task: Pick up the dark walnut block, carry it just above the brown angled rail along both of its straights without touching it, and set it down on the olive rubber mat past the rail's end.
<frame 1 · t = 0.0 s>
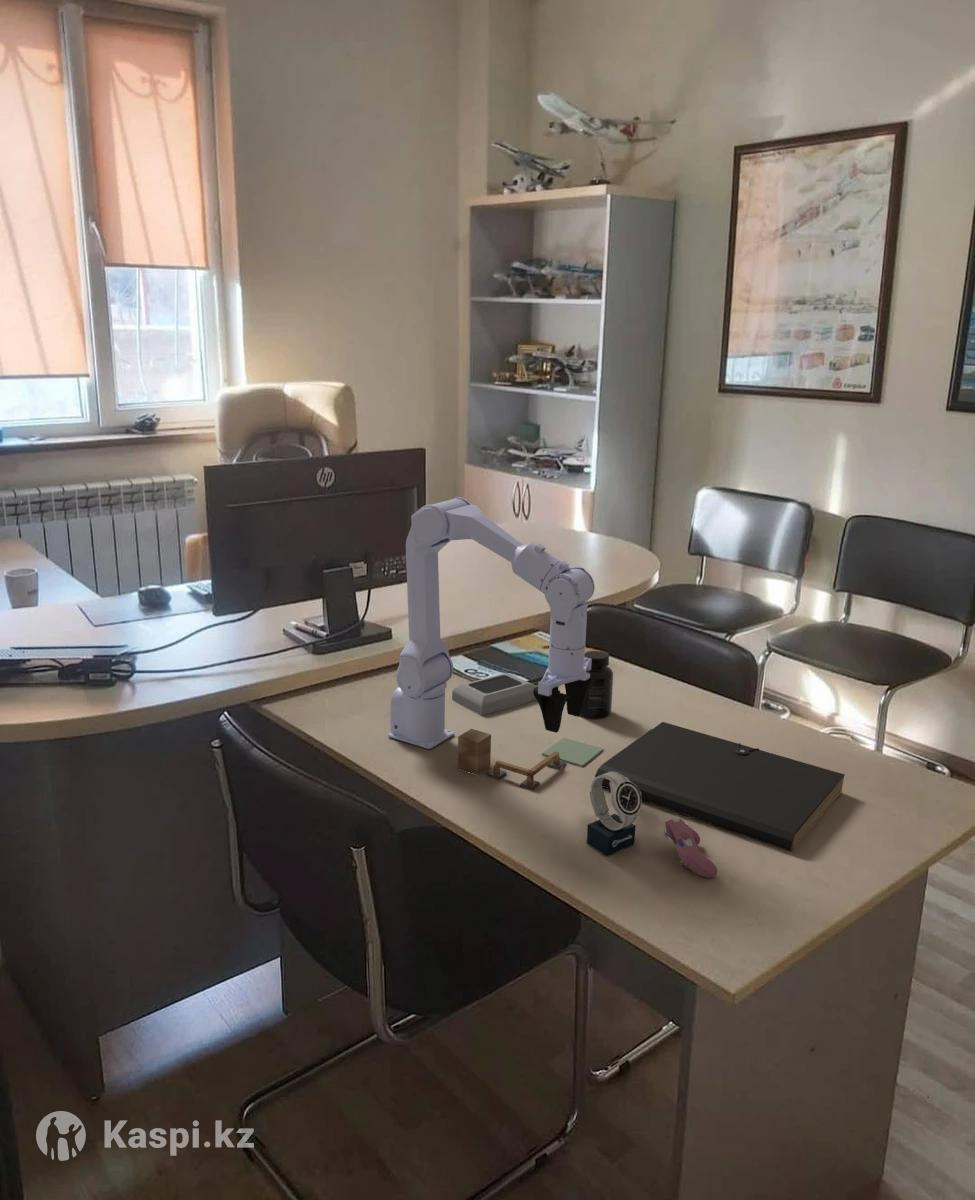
hand: (563, 722, 160), 10 cm above the table, tool pointing down, fingers open, 7 cm apart
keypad: (496, 701, 196), on the table
supplement bottle: (593, 713, 190), on the table
video game controller: (687, 863, 140), on the table
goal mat: (572, 752, 173), on the table
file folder: (718, 792, 161), on the table
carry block: (473, 767, 166), on the table
watch: (611, 845, 144), on the table
brown angled rail: (530, 785, 161), on the table
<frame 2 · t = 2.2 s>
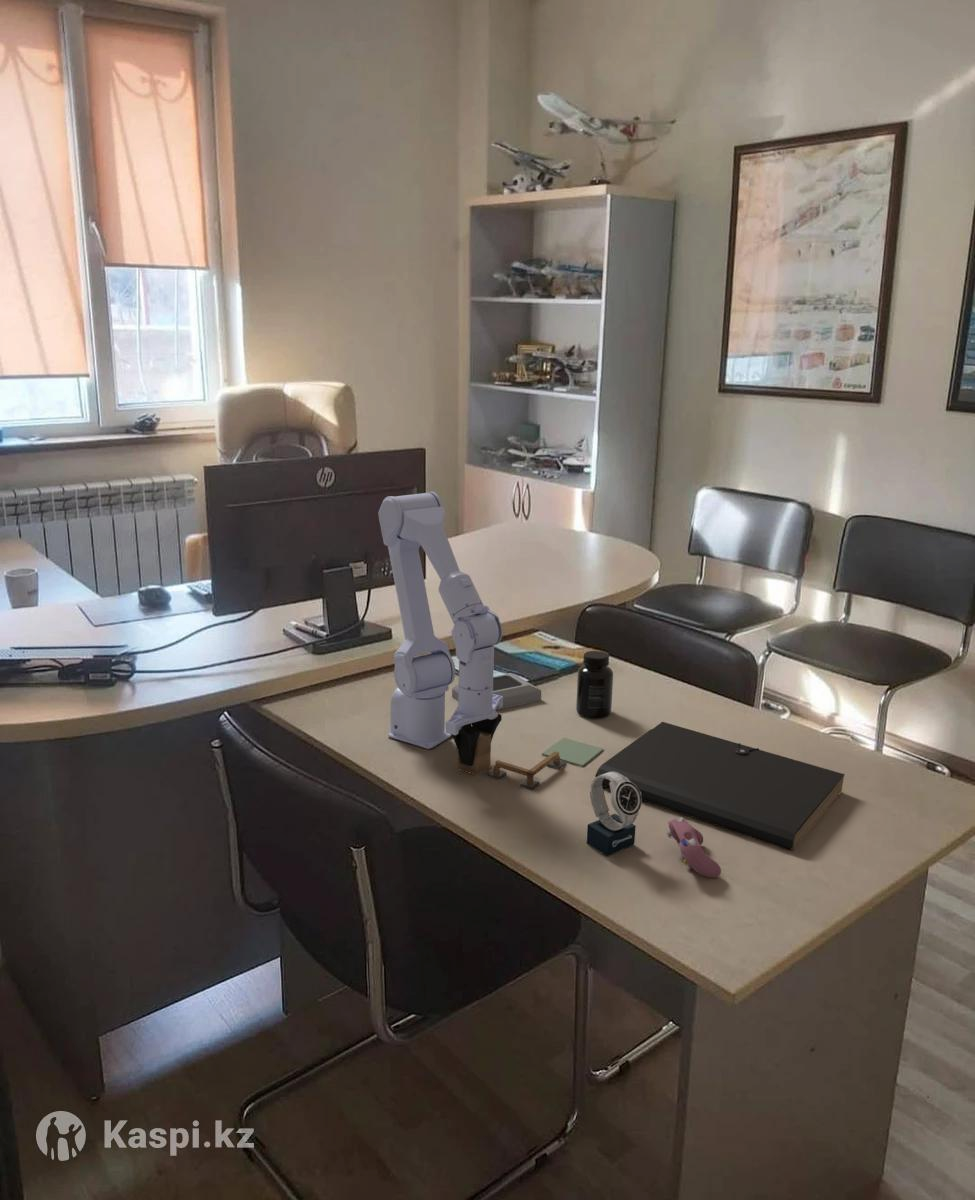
hand: (474, 759, 166), 2 cm above the table, tool pointing down, fingers closed on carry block, 4 cm apart
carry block: (473, 767, 166), on the table, touching gripper
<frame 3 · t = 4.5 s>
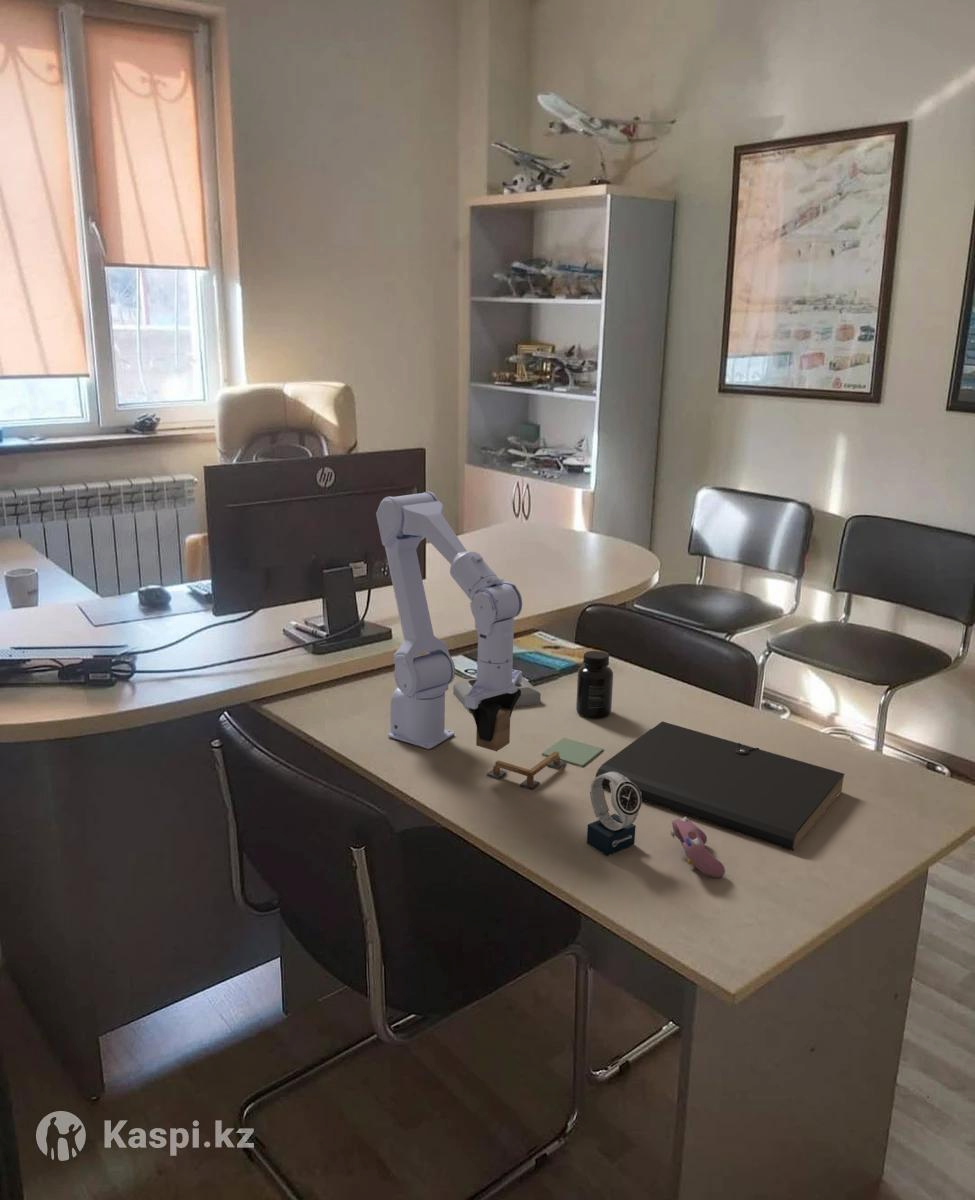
hand: (493, 734, 162), 7 cm above the table, tool pointing down, fingers closed on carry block, 4 cm apart
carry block: (492, 744, 163), point 5 cm above the table, touching gripper
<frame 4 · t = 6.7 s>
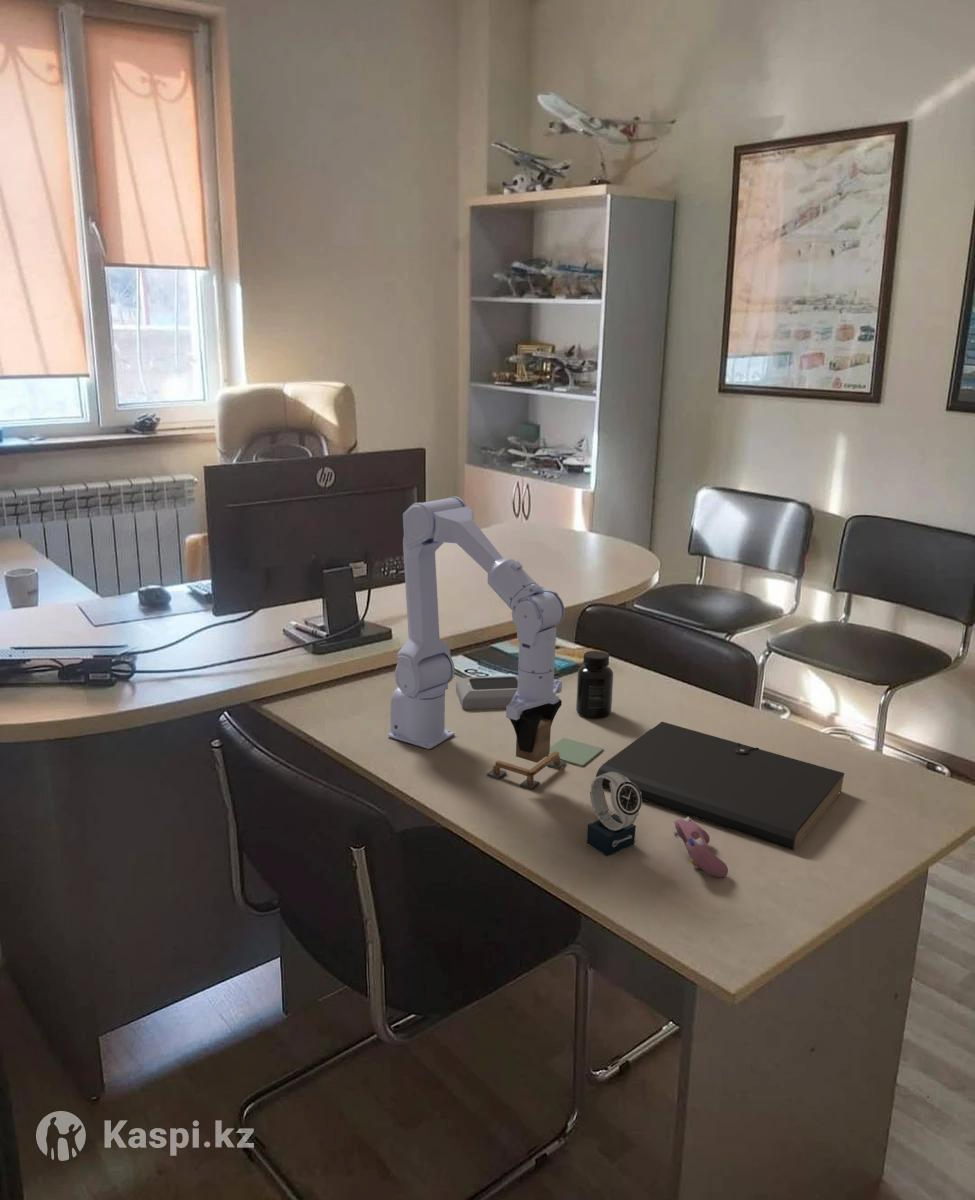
hand: (533, 745, 159), 7 cm above the table, tool pointing down, fingers closed on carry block, 4 cm apart
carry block: (532, 755, 159), point 5 cm above the table, touching gripper
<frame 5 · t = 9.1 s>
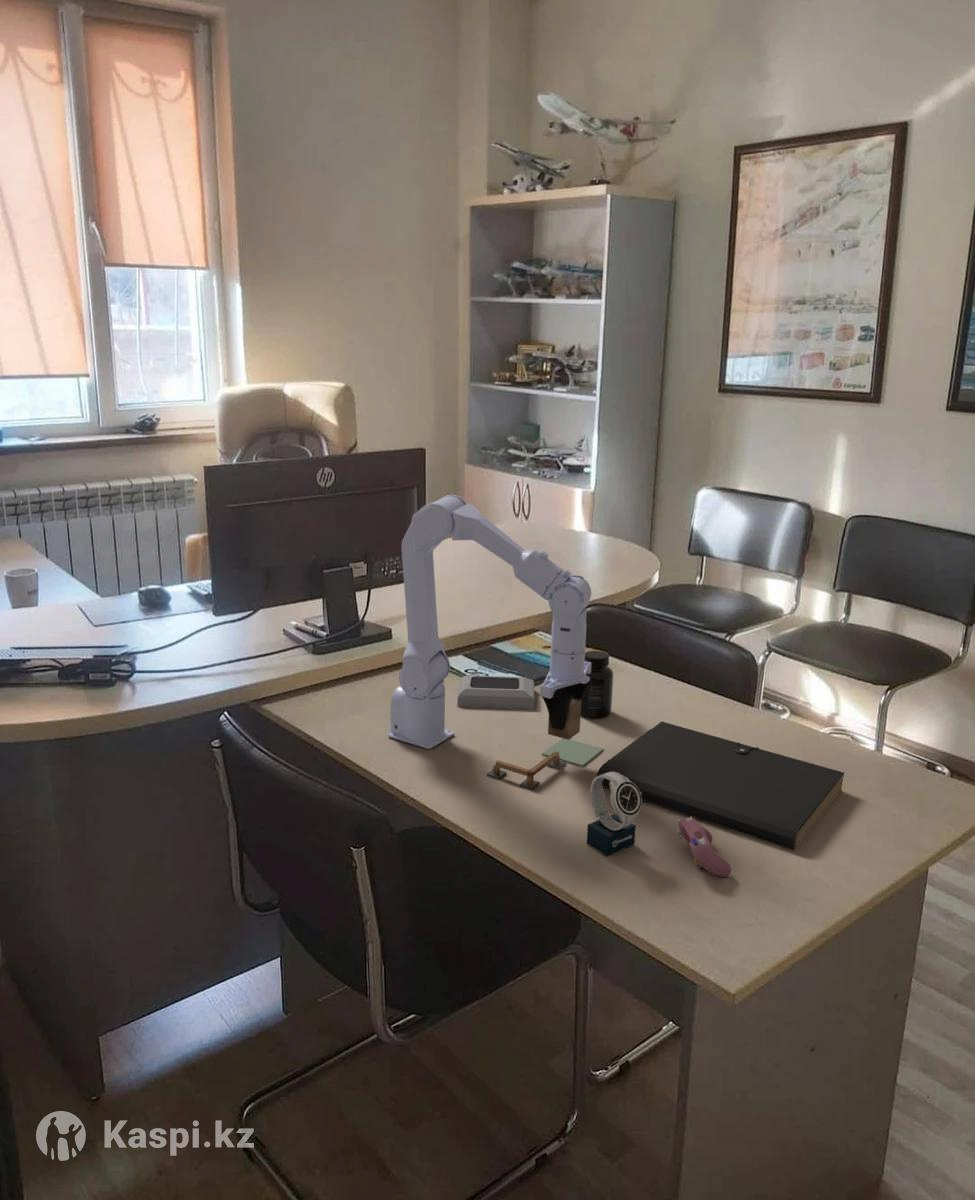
hand: (564, 723, 168), 7 cm above the table, tool pointing down, fingers closed on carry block, 4 cm apart
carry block: (563, 732, 168), point 5 cm above the table, touching gripper
when the fingers open (3 cm above the table, at t = 11.1 s): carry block stays where it is, resting on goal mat.
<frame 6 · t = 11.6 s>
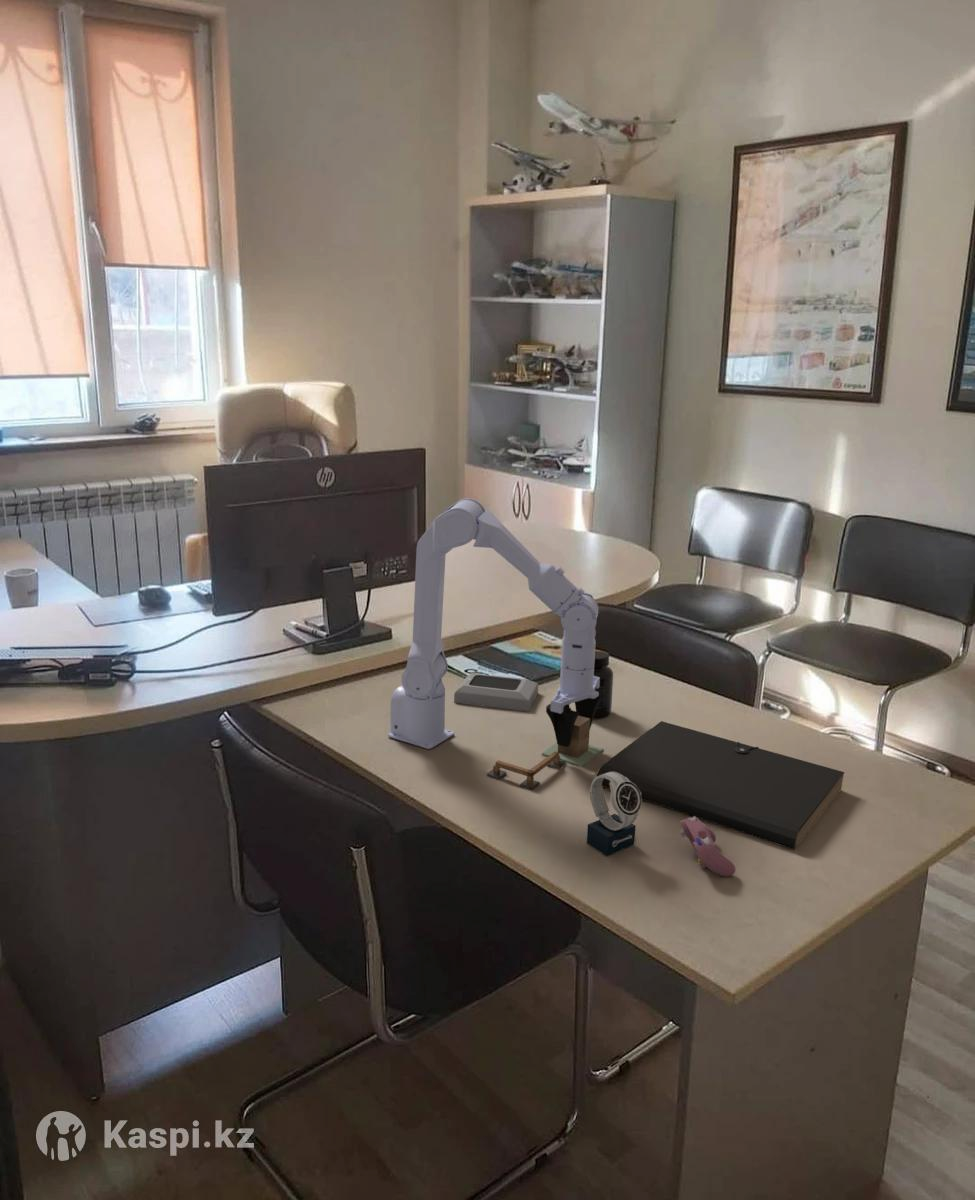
hand: (573, 737, 172), 3 cm above the table, tool pointing down, fingers open, 7 cm apart
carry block: (573, 751, 173), resting on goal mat
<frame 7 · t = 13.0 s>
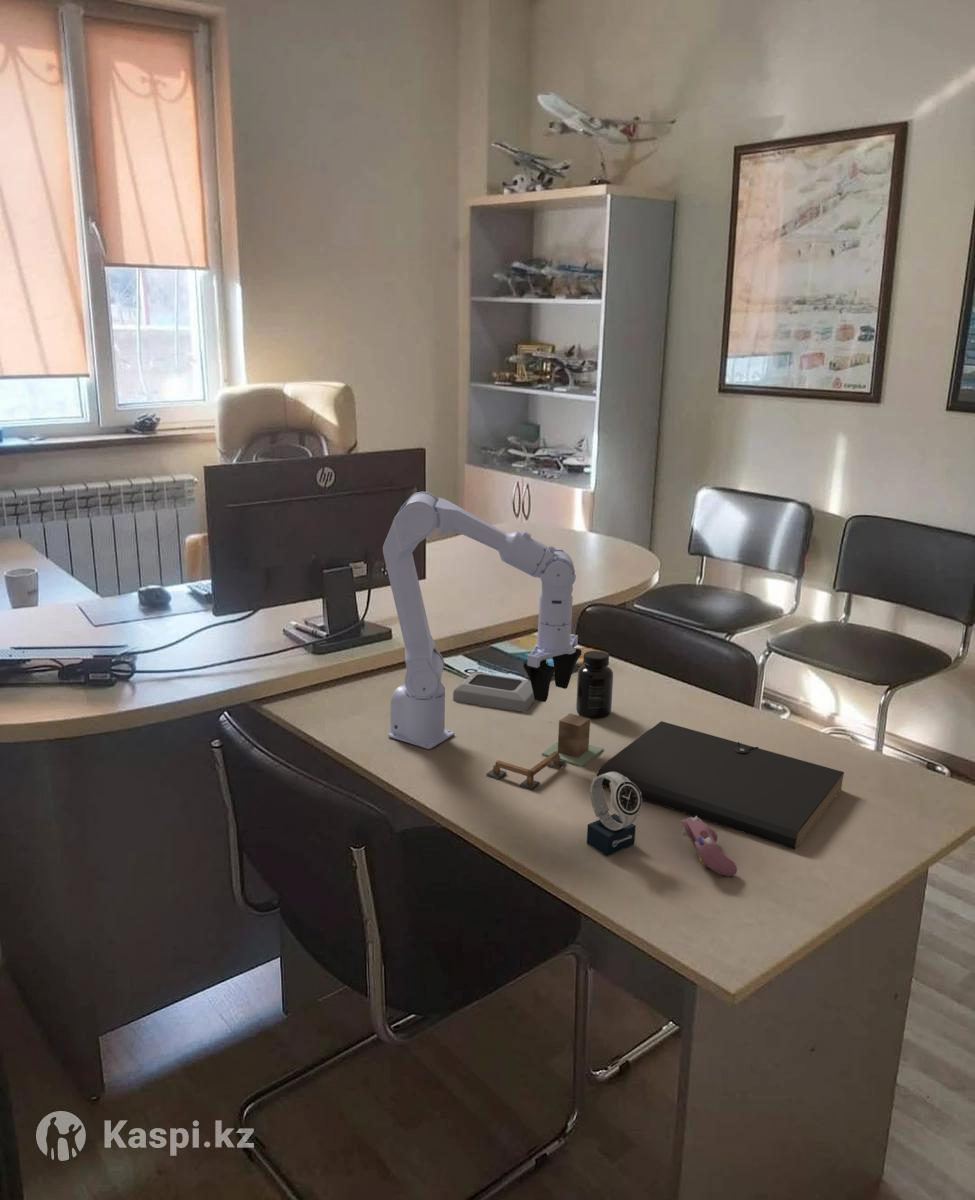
hand: (551, 693, 174), 9 cm above the table, tool pointing down, fingers open, 7 cm apart
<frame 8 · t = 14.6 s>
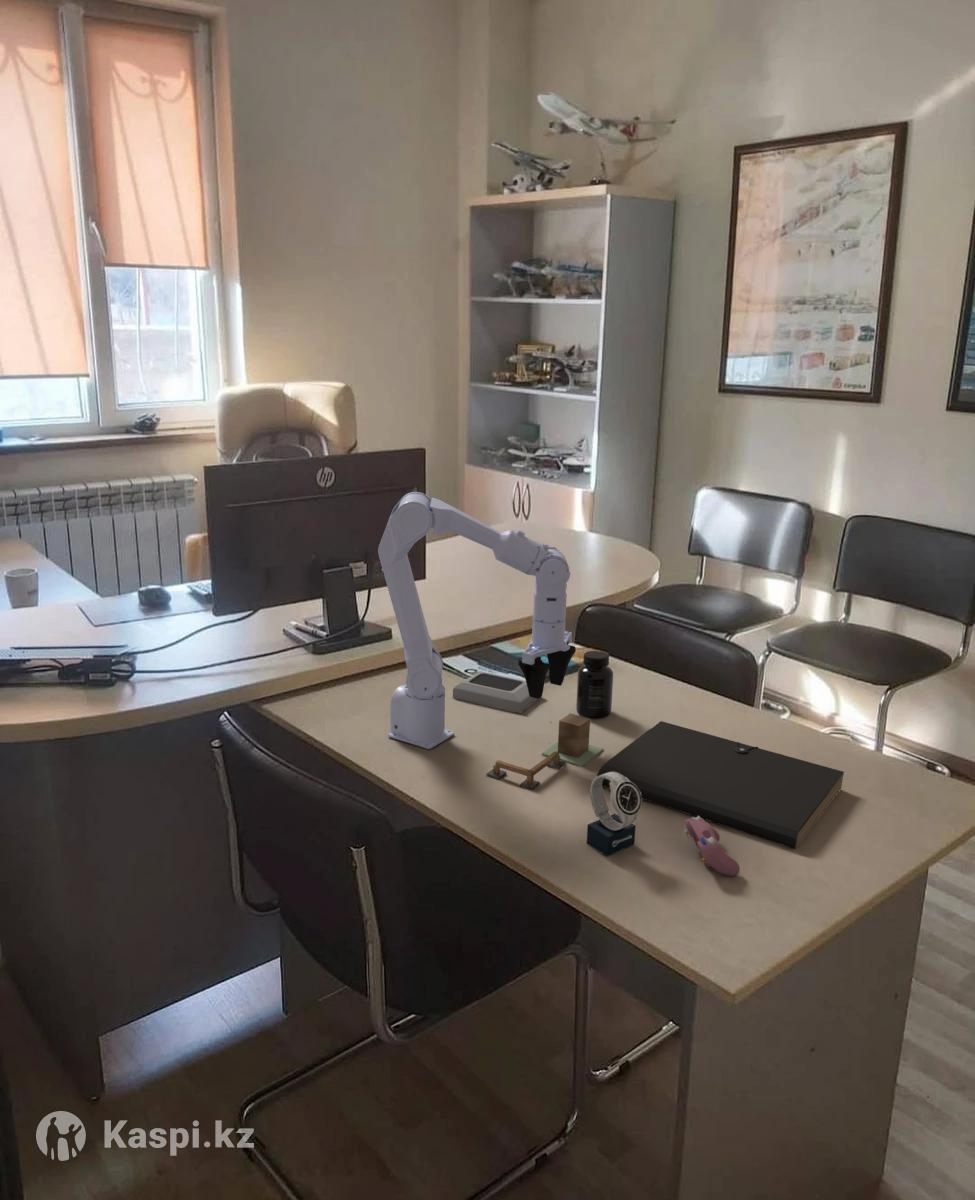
hand: (545, 690, 175), 9 cm above the table, tool pointing down, fingers open, 7 cm apart
at the end: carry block inside the target area (0.0 cm from its centre), resting on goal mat; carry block tilted 0°; brown angled rail moved 0.0 cm from its start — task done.
